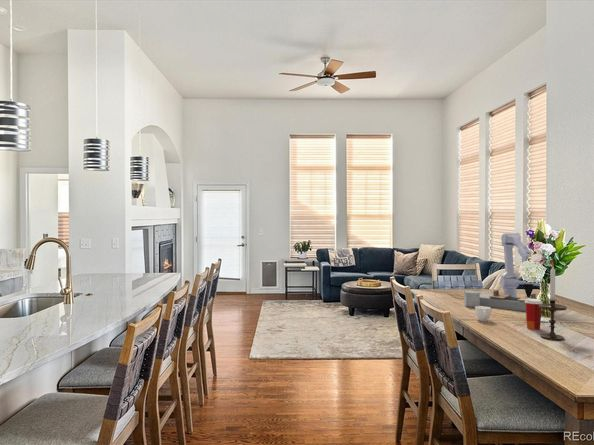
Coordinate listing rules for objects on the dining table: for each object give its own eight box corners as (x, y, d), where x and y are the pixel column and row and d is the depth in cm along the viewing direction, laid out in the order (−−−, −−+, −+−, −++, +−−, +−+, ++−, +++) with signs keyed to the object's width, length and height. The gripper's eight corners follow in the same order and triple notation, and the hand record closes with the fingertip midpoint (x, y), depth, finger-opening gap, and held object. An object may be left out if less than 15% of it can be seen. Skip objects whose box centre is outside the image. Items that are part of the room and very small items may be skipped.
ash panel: (525, 297, 275) (525, 291, 275) (539, 299, 270) (539, 293, 270) (517, 301, 264) (517, 294, 264) (532, 302, 258) (532, 296, 258)
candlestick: (533, 334, 208) (534, 258, 208) (558, 335, 208) (558, 258, 207) (546, 341, 197) (546, 260, 197) (571, 341, 197) (572, 260, 196)
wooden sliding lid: (497, 294, 286) (497, 288, 286) (510, 296, 280) (510, 290, 280) (489, 297, 274) (489, 291, 274) (502, 299, 269) (502, 293, 269)
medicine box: (477, 305, 277) (477, 291, 277) (479, 307, 272) (479, 292, 272) (464, 305, 277) (464, 291, 277) (466, 307, 273) (466, 292, 273)
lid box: (484, 301, 291) (484, 293, 291) (539, 308, 270) (539, 299, 270) (475, 304, 279) (475, 296, 279) (532, 312, 258) (532, 303, 258)
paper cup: (540, 327, 222) (541, 299, 222) (543, 331, 214) (544, 301, 214) (523, 326, 224) (523, 298, 224) (525, 329, 217) (525, 300, 217)
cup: (489, 319, 240) (489, 306, 240) (493, 323, 230) (493, 310, 230) (474, 318, 242) (474, 305, 242) (476, 322, 232) (476, 309, 232)
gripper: (513, 273, 268) (513, 296, 269) (540, 275, 259) (540, 299, 259) (517, 272, 274) (516, 295, 274) (543, 274, 264) (543, 298, 264)
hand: (528, 297), depth 267 cm, fingers closed
